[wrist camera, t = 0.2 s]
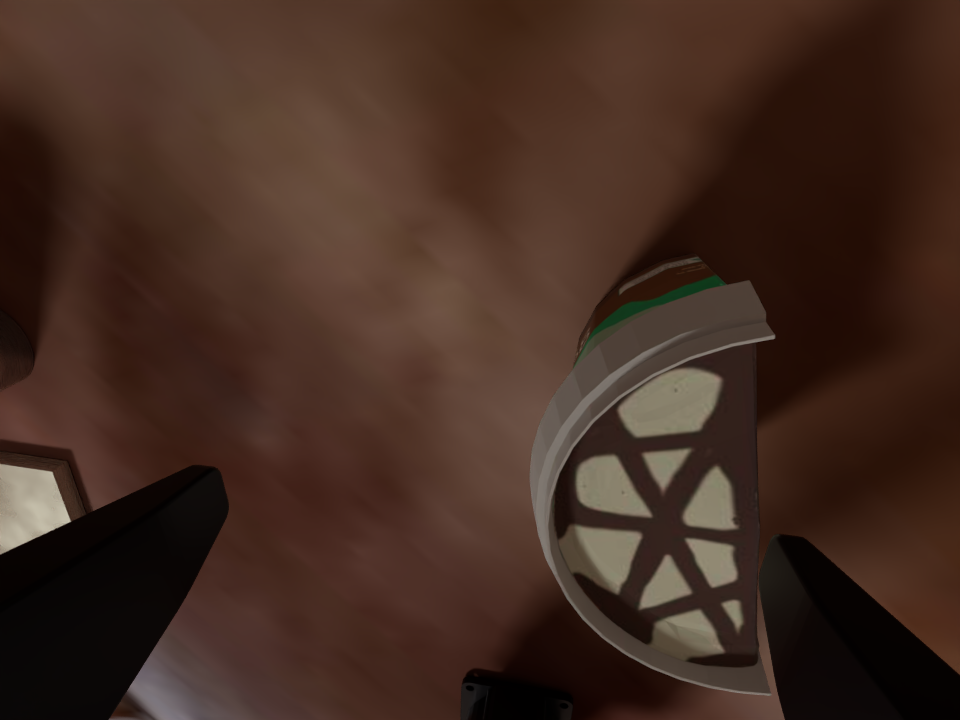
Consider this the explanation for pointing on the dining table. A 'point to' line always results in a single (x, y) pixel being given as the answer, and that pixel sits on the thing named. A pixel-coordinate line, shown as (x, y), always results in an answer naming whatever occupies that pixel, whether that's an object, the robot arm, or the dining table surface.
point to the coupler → (13, 353)
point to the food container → (661, 475)
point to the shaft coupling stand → (34, 498)
